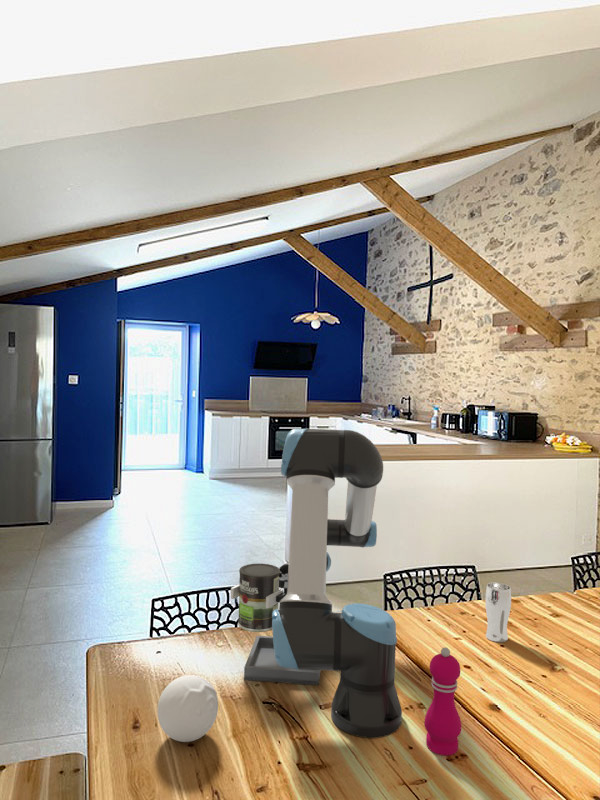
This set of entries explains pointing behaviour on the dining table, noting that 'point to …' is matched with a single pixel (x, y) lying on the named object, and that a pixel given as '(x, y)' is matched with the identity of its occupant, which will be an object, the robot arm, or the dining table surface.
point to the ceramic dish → (274, 666)
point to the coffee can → (257, 596)
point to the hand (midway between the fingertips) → (249, 598)
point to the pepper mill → (443, 705)
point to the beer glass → (497, 611)
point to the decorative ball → (187, 708)
